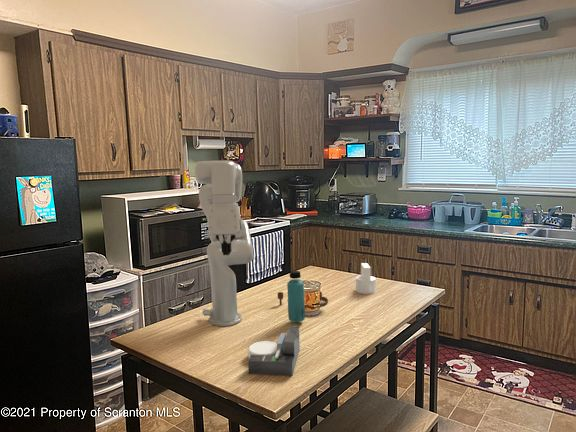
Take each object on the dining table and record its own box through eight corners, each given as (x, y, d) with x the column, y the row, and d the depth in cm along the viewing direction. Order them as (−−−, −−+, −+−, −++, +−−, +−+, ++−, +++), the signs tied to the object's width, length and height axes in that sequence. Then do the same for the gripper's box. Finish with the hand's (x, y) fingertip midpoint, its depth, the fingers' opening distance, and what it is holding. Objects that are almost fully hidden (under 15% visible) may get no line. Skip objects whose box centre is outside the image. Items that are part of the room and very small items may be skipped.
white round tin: (250, 367, 132) (250, 356, 131) (246, 352, 141) (246, 342, 141) (282, 362, 134) (282, 352, 133) (276, 349, 143) (276, 339, 143)
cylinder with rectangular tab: (377, 293, 196) (377, 267, 195) (357, 293, 197) (357, 268, 195) (373, 287, 205) (373, 262, 204) (354, 287, 205) (354, 263, 204)
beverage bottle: (303, 326, 161) (302, 274, 158) (286, 325, 162) (284, 273, 160) (306, 319, 167) (305, 269, 165) (289, 319, 169) (288, 269, 166)
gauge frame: (248, 373, 127) (247, 347, 126) (260, 348, 144) (259, 325, 143) (292, 375, 125) (291, 349, 124) (299, 349, 142) (299, 326, 141)
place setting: (321, 312, 176) (320, 298, 175) (276, 307, 184) (275, 294, 183) (333, 298, 192) (332, 286, 192) (290, 294, 200) (290, 282, 199)
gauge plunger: (274, 369, 127) (273, 351, 127) (281, 349, 141) (281, 332, 140) (279, 370, 127) (278, 351, 126) (286, 349, 140) (285, 332, 140)
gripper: (198, 201, 139) (201, 256, 142) (243, 200, 137) (245, 257, 139) (205, 198, 146) (208, 251, 149) (249, 198, 144) (251, 252, 147)
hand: (226, 254), depth 144 cm, fingers closed
